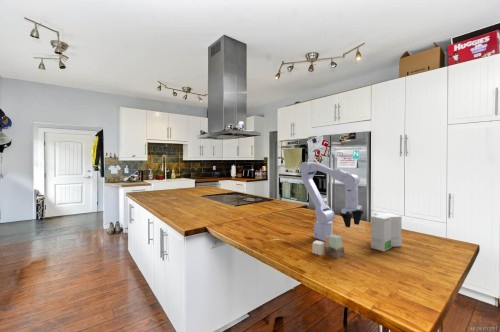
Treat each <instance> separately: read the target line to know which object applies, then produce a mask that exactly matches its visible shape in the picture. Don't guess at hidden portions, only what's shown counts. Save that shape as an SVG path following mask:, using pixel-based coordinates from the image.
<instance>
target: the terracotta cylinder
mask: <svg viewBox="0 0 500 332" xmlns="http://www.w3.org/2000/svg"><path fill="white" fill-rule="evenodd" d="M328 245H329V236H326V242H325V246H328Z"/></svg>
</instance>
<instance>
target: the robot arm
mask: <svg viewBox="0 0 500 332" xmlns="http://www.w3.org/2000/svg"><path fill="white" fill-rule="evenodd" d="M299 171H300V173H301V174H300V175H301V181H302V183H303V185H304V187H305V189H306V191H307V192H308V195H309V197H310V199H311V201H312V203H313V205H314V207H315V209H314V214H315V219H316V221H314V225H313V236H312V238H314V239H317V240H319V241H322V242H324V243H326V236H330V235H333V222H334V221H333V220H335V218H336V215H335V212H334V210H333V209H331V208H330V206H329V205H328V204H327V203H325V201H324V199H323V197H322V195H321V193H320V191H319V189H318V188H317V187H318V186H317V185H316V183H315V182H314V180H313V178H314V176H315V175H316V173H317V171H318V172H322V173H324V174H326V175H329V176H330V177H331V178H332V179H333V180H336V181H337V182H339V183H341V184H344V186H345V187H344V188H345V194H344V195H345V207H343V208H341V209H340V210H341V211H340V212H339V213H340V216H341V218H342V220H343V223H344V226H345V228H351V223H352V222H351V221H352V217H353V224H354V225H358V226H359V224H360V221H361V218H362V216H363V214H364V210H363V205H359V184H360V182H361V181H360V180H361V178H360V177H359V176H358V175H357V174H356V173H352V174H351V173H350V172H349V171H344V170H342V168H339V167H338V168H334V169H333V168H330V167H328V166H327V165H324V164H322V163H320V162H316V161H304V162H302V163H301V164H300V167H299Z"/></svg>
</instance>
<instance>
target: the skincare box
mask: <svg viewBox="0 0 500 332" xmlns="http://www.w3.org/2000/svg"><path fill="white" fill-rule="evenodd" d="M370 248H371V249H373V250H377V251H380V252H386V251H388V250H390V249H392V247H391V217H390V216H384V215H374V214H373V215H372V216H370Z"/></svg>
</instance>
